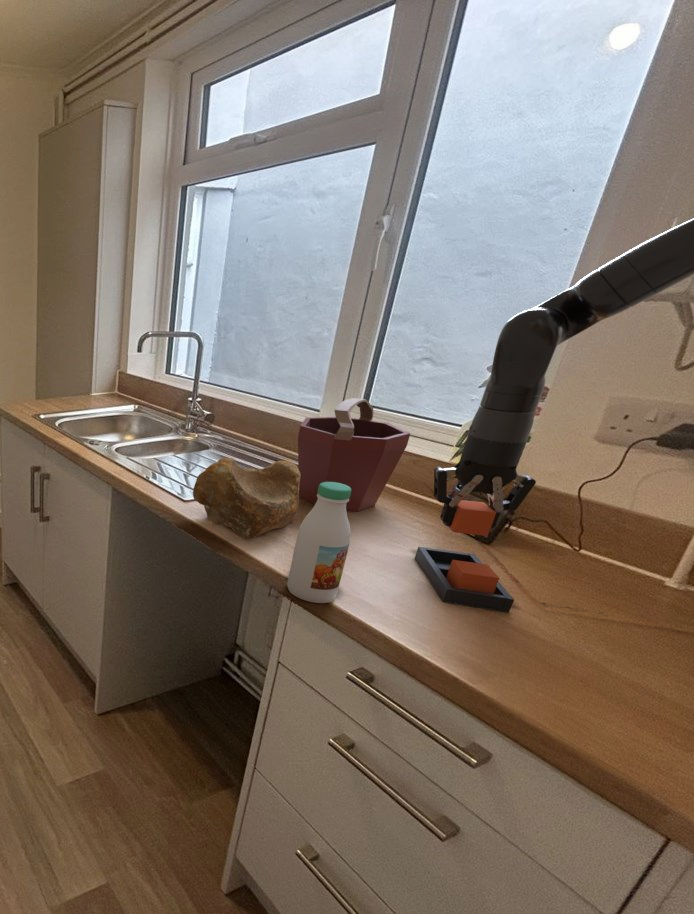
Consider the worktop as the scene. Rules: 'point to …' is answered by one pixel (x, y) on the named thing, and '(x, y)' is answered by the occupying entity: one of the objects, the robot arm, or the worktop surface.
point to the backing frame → (436, 571)
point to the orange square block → (472, 576)
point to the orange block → (473, 518)
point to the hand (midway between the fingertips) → (465, 526)
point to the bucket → (349, 453)
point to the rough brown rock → (249, 496)
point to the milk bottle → (321, 546)
